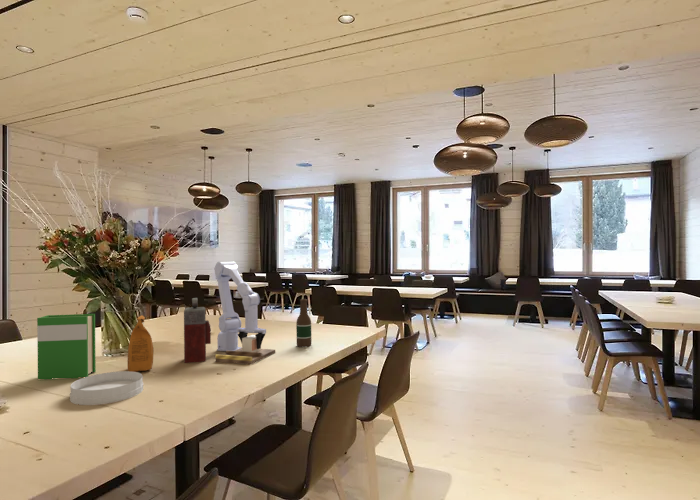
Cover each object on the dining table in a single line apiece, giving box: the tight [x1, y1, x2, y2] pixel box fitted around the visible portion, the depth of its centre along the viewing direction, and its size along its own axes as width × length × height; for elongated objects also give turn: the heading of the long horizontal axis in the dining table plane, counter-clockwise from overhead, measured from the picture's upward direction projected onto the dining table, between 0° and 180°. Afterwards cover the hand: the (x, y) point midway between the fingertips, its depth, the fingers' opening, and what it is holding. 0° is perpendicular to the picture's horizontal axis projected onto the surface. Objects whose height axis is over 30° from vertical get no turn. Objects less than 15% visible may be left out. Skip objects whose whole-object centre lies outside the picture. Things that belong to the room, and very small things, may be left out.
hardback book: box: [36, 313, 97, 380], centre depth 169 cm, size 18×7×24 cm, turn 98°
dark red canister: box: [183, 297, 212, 364], centre depth 192 cm, size 9×11×28 cm
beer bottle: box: [295, 298, 312, 348], centre depth 219 cm, size 8×8×24 cm
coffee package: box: [127, 315, 155, 373], centre depth 177 cm, size 10×12×22 cm
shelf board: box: [214, 347, 276, 365], centre depth 196 cm, size 18×22×3 cm
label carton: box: [241, 334, 262, 352], centre depth 200 cm, size 9×5×7 cm, turn 162°
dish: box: [69, 370, 144, 406], centre depth 147 cm, size 22×22×5 cm
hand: (251, 348), depth 200 cm, fingers open, 7 cm apart
